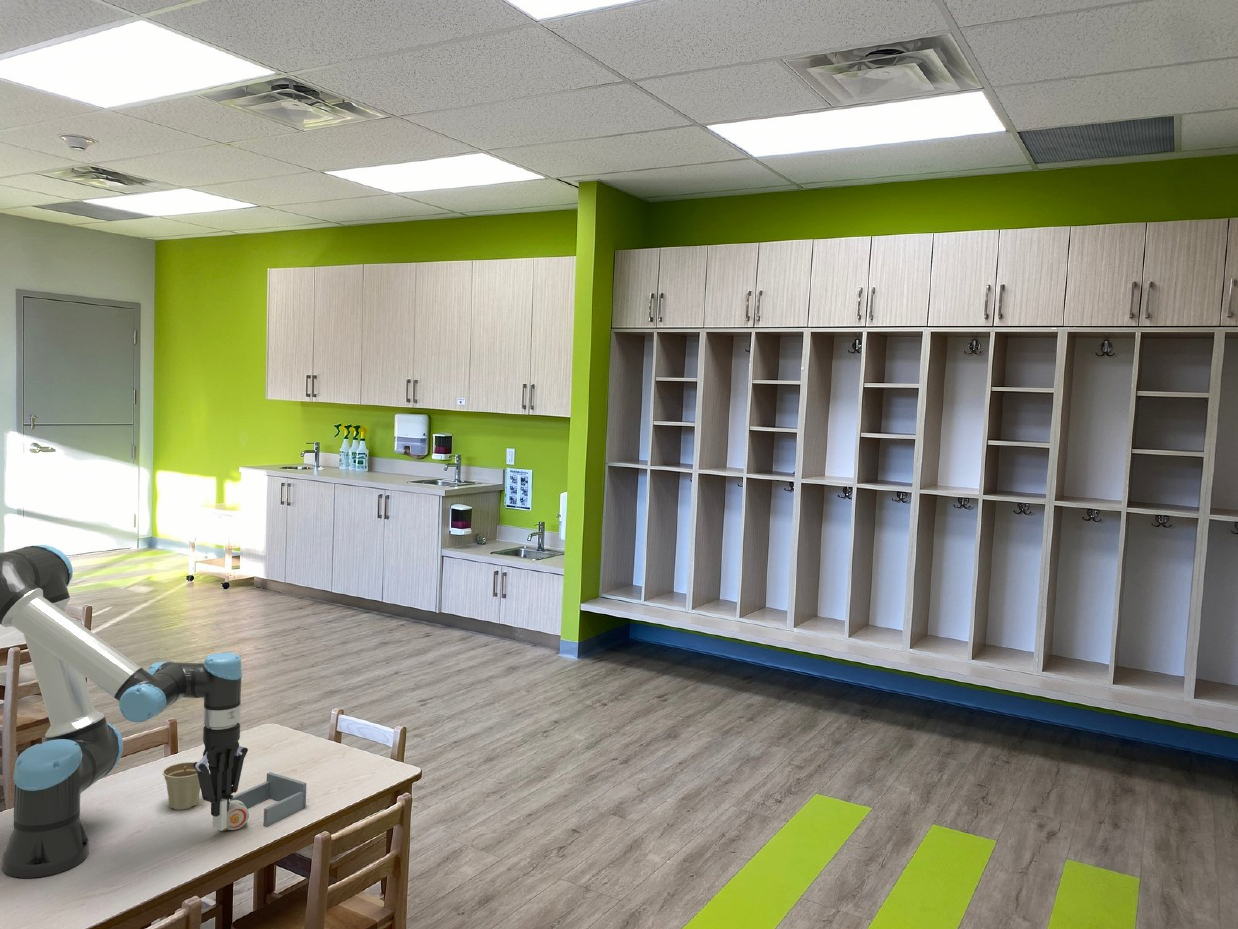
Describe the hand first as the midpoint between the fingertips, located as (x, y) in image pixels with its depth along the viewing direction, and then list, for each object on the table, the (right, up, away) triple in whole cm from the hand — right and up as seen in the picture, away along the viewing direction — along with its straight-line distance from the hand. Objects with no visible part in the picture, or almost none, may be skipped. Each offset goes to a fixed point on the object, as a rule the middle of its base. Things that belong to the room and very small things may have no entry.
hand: (219, 828), depth 201 cm
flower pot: (-15, 0, +14) cm, 21 cm away
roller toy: (+1, -2, +4) cm, 5 cm away
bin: (+6, -1, +13) cm, 15 cm away
